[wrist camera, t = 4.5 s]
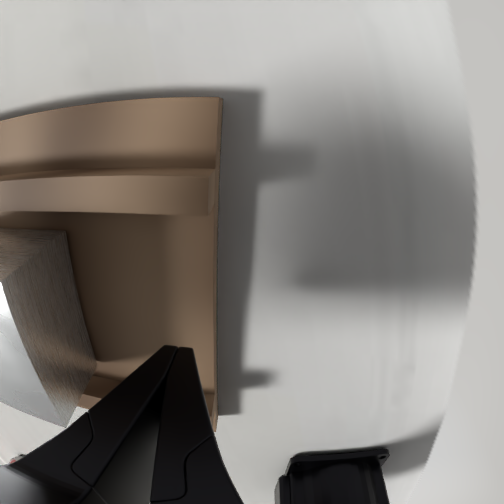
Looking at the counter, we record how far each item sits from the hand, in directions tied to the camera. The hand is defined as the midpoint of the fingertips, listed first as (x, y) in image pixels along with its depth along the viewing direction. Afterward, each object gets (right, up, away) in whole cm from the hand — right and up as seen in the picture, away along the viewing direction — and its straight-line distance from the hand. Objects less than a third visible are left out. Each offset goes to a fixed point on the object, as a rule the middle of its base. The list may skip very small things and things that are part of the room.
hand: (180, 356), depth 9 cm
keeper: (-7, +1, +2) cm, 7 cm away
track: (-11, +2, +3) cm, 11 cm away
